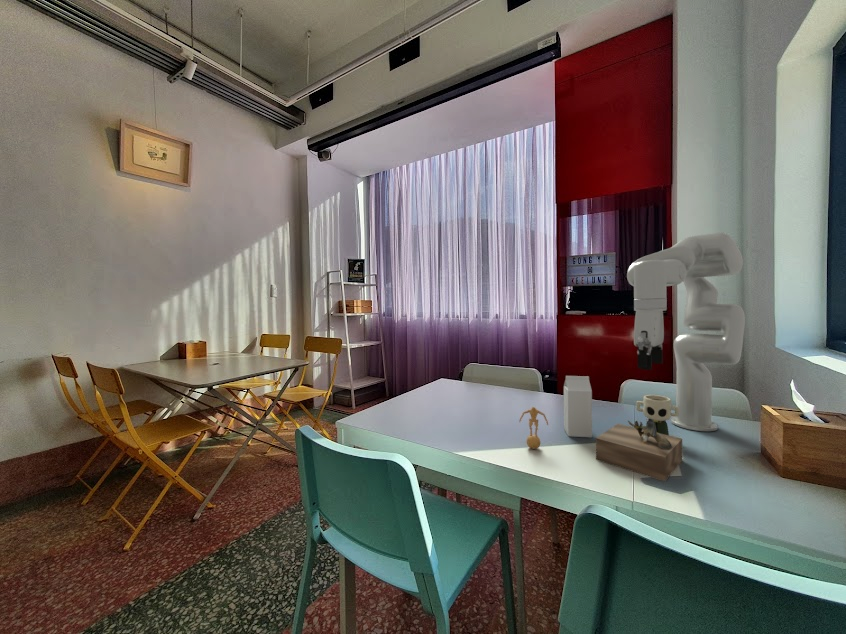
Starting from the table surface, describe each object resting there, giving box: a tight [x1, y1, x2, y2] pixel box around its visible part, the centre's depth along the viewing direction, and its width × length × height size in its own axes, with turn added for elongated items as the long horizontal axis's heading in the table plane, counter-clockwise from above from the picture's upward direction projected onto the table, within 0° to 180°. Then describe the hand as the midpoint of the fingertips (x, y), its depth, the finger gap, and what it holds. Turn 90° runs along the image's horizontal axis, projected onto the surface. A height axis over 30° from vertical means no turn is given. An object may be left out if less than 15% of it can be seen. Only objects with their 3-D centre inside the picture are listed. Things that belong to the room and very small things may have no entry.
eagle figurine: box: [627, 418, 672, 450], centre depth 90 cm, size 8×7×9 cm
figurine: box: [519, 406, 549, 450], centre depth 103 cm, size 8×6×12 cm
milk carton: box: [563, 375, 593, 438], centre depth 113 cm, size 7×7×19 cm
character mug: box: [636, 394, 679, 436], centre depth 107 cm, size 11×7×13 cm, turn 53°
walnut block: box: [595, 423, 683, 482], centre depth 93 cm, size 16×16×6 cm
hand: (650, 366), depth 96 cm, fingers open, 9 cm apart
